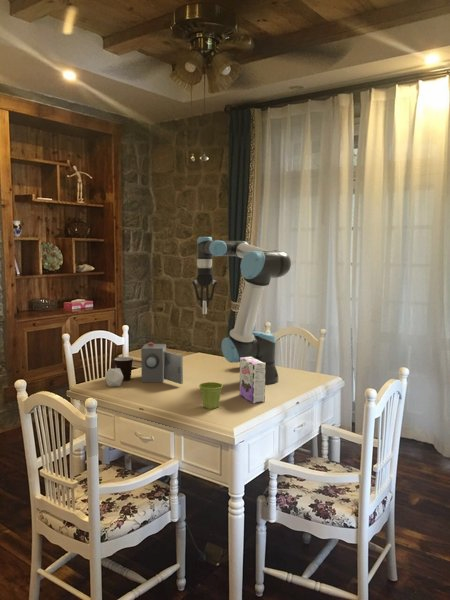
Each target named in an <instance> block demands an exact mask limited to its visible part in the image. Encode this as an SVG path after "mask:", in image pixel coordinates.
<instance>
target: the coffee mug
mask: <svg viewBox="0 0 450 600" xmlns="http://www.w3.org/2000/svg"><path fill="white" fill-rule="evenodd" d="M113 361H114V366H115V368H120V370H121V372H122V374H123V377H124V378H123V380H122V382H128V381H131V379H132V372H133V371H132V370H133V369H132V368H133V357H129V356H119V357H115V358H114V359H113ZM115 368H114V369H115Z"/></svg>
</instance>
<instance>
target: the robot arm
mask: <svg viewBox="0 0 450 600" xmlns="http://www.w3.org/2000/svg"><path fill="white" fill-rule="evenodd" d="M196 247H197V248H196V249H197V259H196V260H197V261H196V262H197V264H196V266H197V267H198V268H197V270H196V271H197V272H196V273H197V274H196V276H197V277H196V279H194V280H192V282H191V283H192V285H193V287H194V288H193V289H194V291H195V296H196V300H197V301H200V308H202V314H203V315H204V314H205V315H207V314H208V311H207V310H208V308H209V307H210V301H213V298H214V292H215V289H216V285H217V283H218V281H217V280H215V279H214V277H213V257H237V258H239V259H241V262H240V266H239V267H240V274H241V276H242V278H243V281H244V282H245V284H244V288H243V292H242V297H241V298H240V303H239V306H238V312H237V316H236V319H235V324H234V328H232V329H231V330H230V331H229V334H228V337H224V338H222V341H221V351H222V355H223V357H224V359H225V360H226V361H227V362H228V363H232V364H234V363H240V358H241V357H253V358H255V359H257V360H259V361H261V362H263V363H266V367H265V385H268V384H269V385H273V384H275V383H278V382H279V374H278V370H277V367H276V344H277V343H276V336H275V335H274V334H273V333H271V332H263V331H254V330H255V327H256V326H255V325H256V321H257V318H258V315H259V310H260V307H261V302H262V298H263V295H264V291H265V288H266V287H268V286H269V285H270V283H271V280H272V279H274V278H275V279H278V278H281V277H284V276H285V275H287V274H288V273H289V272H290V269H291V265H292V259H291V258H290V256H289V254H287V253H286V252H284V251H282V250H275V249H273V250H268V249H265V248H262V247H258V246H255V245H252V244H249V243H248V242H247V241H246V240H244V241H243V240H219V239H215V240H213V237H212V236H199V237H198V238H197V244H196ZM197 284H199V286H200V292H199V289H198V285H197ZM211 284H212V287H211V288H212V289H211V292H210V287H209V286H210V285H211ZM204 286H205V290H206V291H205V292H206V293H205V295H206V296H205V297H206V300H204Z"/></svg>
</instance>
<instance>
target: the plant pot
mask: <svg viewBox="0 0 450 600" xmlns="http://www.w3.org/2000/svg"><path fill="white" fill-rule="evenodd" d="M198 386H199V389H200V393H201V400H202V405H203V408H205V409H208V410H211V409H216V408H219V405H220V400H221V393H222V389H223V387H224V384H223V383H221V382H217V381H216V382H213V381H212V382H211V381H210V382H203V383H200V384H199V385H198Z"/></svg>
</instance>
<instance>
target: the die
mask: <svg viewBox="0 0 450 600" xmlns="http://www.w3.org/2000/svg"><path fill="white" fill-rule="evenodd" d="M104 378H105V382H106V384H107V387H109V388H115V387H121V385H122V383H123V381H122V380H123V378H124V377H123V374H122V372H121V370H120V368H108V369H107V371H106V374H105V375H104Z"/></svg>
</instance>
